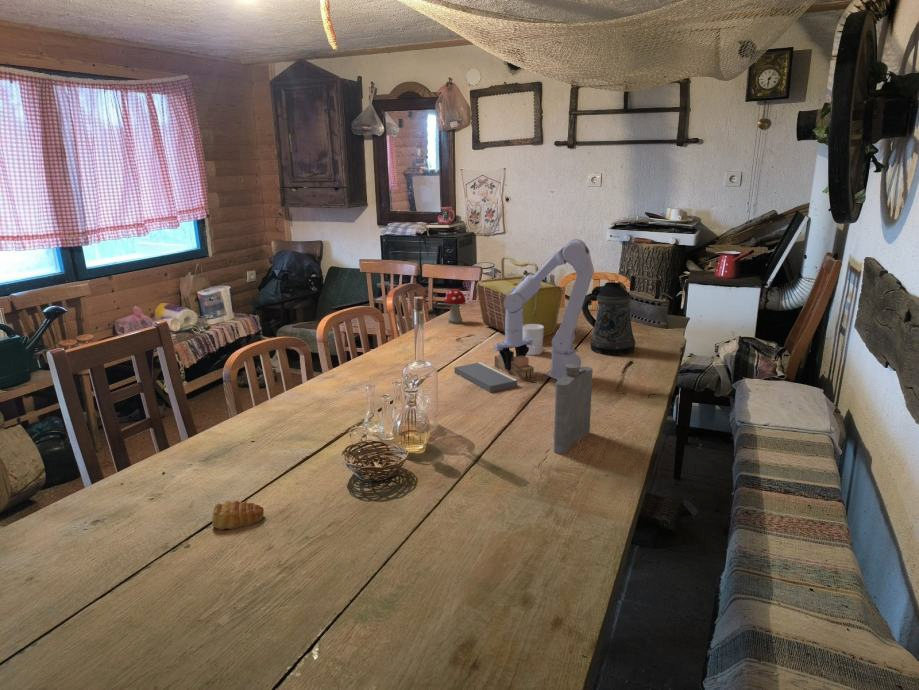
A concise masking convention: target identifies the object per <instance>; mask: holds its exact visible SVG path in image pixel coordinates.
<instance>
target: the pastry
mask: <svg viewBox="0 0 919 690" xmlns="http://www.w3.org/2000/svg"><path fill="white" fill-rule="evenodd" d="M264 515H265V514H264V507H263V506H261V505H259V504H255V503H254V502H247V501H243V502H242V501H239V500H234V501H229V500H227V501H225V502H223V503H220V502H219V503H216V504H215V505H214V507H213V513H212V524H211V526H212V527H213V528H216V529H218V530H225V529H229V530H233V529H237V528H243V527H247V526H251V525H254V524H256V523H258V522H261V520H262V519H263V518H264Z"/></svg>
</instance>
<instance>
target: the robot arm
mask: <svg viewBox="0 0 919 690" xmlns="http://www.w3.org/2000/svg"><path fill="white" fill-rule="evenodd" d="M567 263H568V264H570V266H572V268H573V270H574V271H575V273H576V277H575V280H574V284H573V287H572V289H571V292H570V296H569V299H568V302H567V304H566V308H565V311H564V314H563V317H562V320H561V323H560V326H559V328H558V329H557V331H556V333H555V335H554V336H552V338H551V339H552V340H551V347H552V348H551V365H550V366H551V368H550V369H551V372H546V373H545V376H547V377H550V378H552V379H554V380H556V381H557V380H558V379H560V378H561V377H562V376H564V375H565V374H566V369H565V365H566V364H570V363H573V364H578V365H580V367H582V360H581V357H580V356H579V354H577V353H576V351H575V347H574V346H573V343H574V342H575V339H576V334H575V331H576V327H577V323H578V320H579V317H580V314H581V311H582V305H583V303H584V300H585V297H586V295H588V294H587V293H588V291H589V289H590V288H589V287H590V284H591V282H592V279H593V275H594V273H595V268H594V265H593V262H592V257H591V253H590V249H589V247H588V245H587V244H586V243H585V242H584V241H583V240H582V239H579V238H578V239H577V238H576V239H575V238H574V239H572V240H569V242H568V243H566V244H565V245H564V246H562V247H561V248H560V249H559V250H557V251H556V252H554V253H553V254H552V255H551V256H550V257H549V259H547V260H546V262H545V263H544V264H543V265H542V266H541V267H540V268H538V269H539V270H538V271H537V272H536V273H535V272H534V274H532V275H531V274H528V275H527V276H526V275H525V276H524V277H523V278H522V279H521V280H522V282H521V283H520V284H519V285H518V286H517V287H516V288H513V289H512V290H511V291H512V293H510V294H509V295H507V296H506V298H505V300H504V307H505V308H506V315H505V333H504V340H503V341H501V342H498V343H494V344H493V351H495V352H500V354H501V356H502V359H503V361H504V365H505V369H507V370H510V369H511V357H512V354H513V352H514V351H515V357H516V356H522V355H523V356H525V357H527V352H528V351H529V347H527V345H533V339H531V338H526V339H523V314H522V313H523V308H522V306H523V305H524V304H525V302H526V301H528V300H529V299H530V298H531V297H532V296H533V295H534V294H535V293H536V292H537V291H538V290H539V289H540V288H541V281H542V282H543V281H544V279H545V278H547V276H549V275H550V274H551V273H552V272H553V271H554V270H555V269H556V268H557V267H558V266H562V265H563V266H564V265H566V264H567ZM513 348H514V351H513V350H511V349H513ZM510 350H511V351H510ZM512 351H513V352H512Z"/></svg>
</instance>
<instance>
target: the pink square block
mask: <svg viewBox="0 0 919 690" xmlns="http://www.w3.org/2000/svg"><path fill="white" fill-rule="evenodd" d="M513 364H514V365H516V366H518V367H522V366H527V365H529V357H527V356H523V355H522V356H516V355H515V356H514V361H513Z"/></svg>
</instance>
